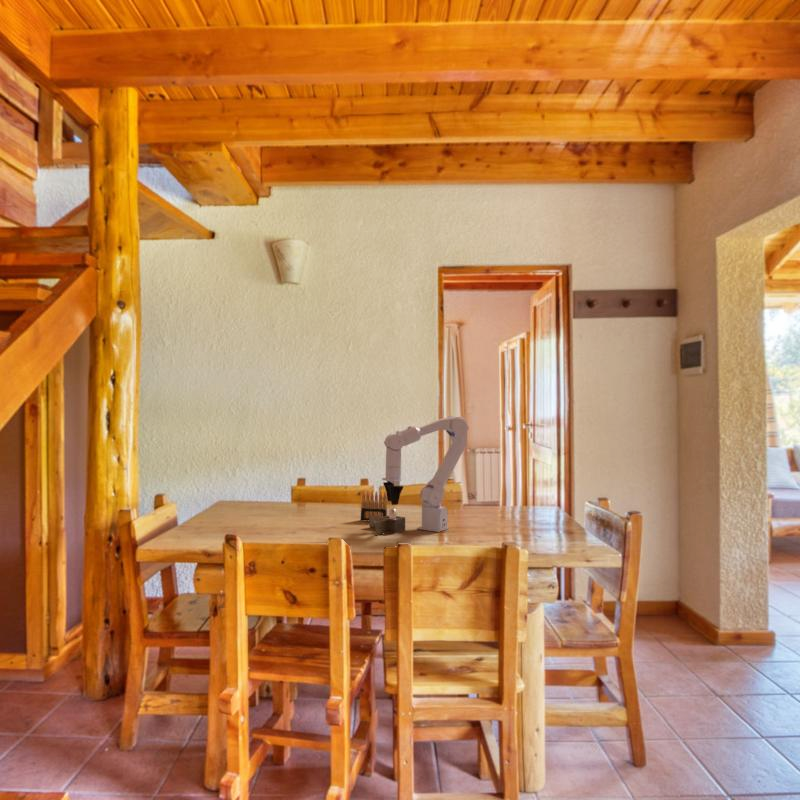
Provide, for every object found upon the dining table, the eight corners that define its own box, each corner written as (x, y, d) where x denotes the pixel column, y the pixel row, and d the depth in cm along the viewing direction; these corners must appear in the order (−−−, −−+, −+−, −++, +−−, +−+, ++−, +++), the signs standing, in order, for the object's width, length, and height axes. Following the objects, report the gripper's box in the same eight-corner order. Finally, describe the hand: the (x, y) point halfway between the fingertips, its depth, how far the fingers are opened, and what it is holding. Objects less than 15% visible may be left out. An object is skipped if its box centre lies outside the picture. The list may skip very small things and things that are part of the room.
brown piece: (405, 530, 226) (405, 517, 226) (383, 537, 214) (384, 523, 214) (375, 525, 233) (375, 513, 233) (353, 532, 222) (353, 518, 222)
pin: (397, 530, 225) (397, 509, 225) (393, 532, 223) (393, 510, 223) (391, 529, 227) (391, 508, 227) (387, 531, 224) (387, 509, 224)
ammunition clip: (360, 520, 243) (360, 491, 243) (361, 520, 245) (362, 490, 245) (386, 522, 241) (386, 492, 241) (387, 521, 243) (387, 491, 243)
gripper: (379, 464, 232) (378, 499, 231) (386, 468, 217) (385, 506, 217) (397, 464, 233) (396, 499, 233) (405, 468, 219) (404, 506, 219)
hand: (392, 502), depth 225 cm, fingers open, 7 cm apart
